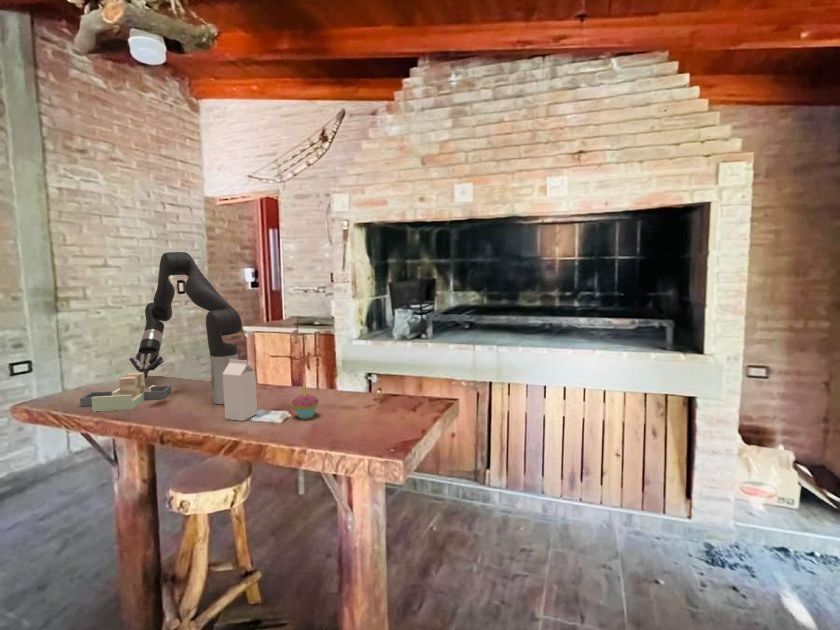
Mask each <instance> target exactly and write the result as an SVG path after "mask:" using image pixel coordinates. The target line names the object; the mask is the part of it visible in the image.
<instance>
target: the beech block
mask: <svg viewBox="0 0 840 630" xmlns="http://www.w3.org/2000/svg"><path fill="white" fill-rule="evenodd" d="M118 380H119V381H118V382H119V383H118V384H119V388H120V395H132V399H134V398H135V397H136V396H138V395H139V394H144V392H147V391H146V378H145V377H144V372H139V371H138V372H129V373H128V374H126V375H124V376H122V377H121V378H119V379H118Z"/></svg>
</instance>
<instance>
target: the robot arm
mask: <svg viewBox="0 0 840 630" xmlns="http://www.w3.org/2000/svg"><path fill="white" fill-rule="evenodd" d="M159 260H160V261H159V268H158V277H157V279H158V280H157V288H156V290H155V293H154V297H153V301H152V302H149V303H148V304H147V305H145V309H144V313H145V314H144V316H145V327H144V331H143V333H142V337H141V340H140V344H139V348H138V352H137V354H136V356H135V357H130V358H128V359H129V361H130V363H131V364H132V365H133V367H134V368H135V369H136V371H137V372H138V373H139V372H144V377H145V379H147V378H148V376H149V372H150V371H154V370H156V368H158V367H159V366H160V365H162V364H163V363H164V359H163V356H160V354H159V353H160V351H161V346H162V344H163V343H162V342H163V335H164V329H165V323H163V322H168V321H170V320H171V319H172V315H173V307H172V302H173V300H174V297H175V294H176V290H175V286H174V285H173V283H172V282H171V281H170V276H186V277H187V279H186V281H185V284H184V291H185V294H186V295H187V297H188V298H189V300H191V302H192V303H193V304H194V305H195V306H196V307H197V306H198V307H199V308H201V309H203V310H205V311H208V312H207V314H206V317H205V329H206V330H205V331H206V335H207V345H208V349H209V360H210V374H211V388H212V389H211V390H212V402H213V404H215V405H224V389H223V372H224V370H225V369H226V367H227V366H228V364H229V359H234V360H239V356H238V355H239V354H238V347H237V345H236V344H233V343H229V342H228V343H227V342H225V341H224V340H223V336H224V337H225V336H229V335H230V336H231V335H235V334H237V333H239V332H240V331H241V329H242V327H243V326H242V325H243V324H242V319H241V316H240V315H239V313H238V312H237V310H236V309H235V308H234V307H233V306H232V305H231V304H230V303H228V302H227V301H226V300H225V299H224V298H223V297H222V296H221V295H220V294H219V292H218V291H217V290H216V288H215V287H214V286H213V284H212V283H211V282H210V281H209V280H208V279H207V278H206V277H205V275H204V274H203V273H202V272H201V270H200V269H199V267H198V266H197V264H196V262H195V260H194V259H193V257H192V256H191V254H189V253H188V252H187V251H170V252H164V253H163V254H162V256H161V257H160V259H159ZM138 362H139V365H138Z"/></svg>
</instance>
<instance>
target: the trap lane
mask: <svg viewBox="0 0 840 630" xmlns="http://www.w3.org/2000/svg"><path fill="white" fill-rule="evenodd" d="M147 389H148V391H146V392H144V394H139V395H138V396H136V397H135V398H134V399H132V395H120V387H118V388H117V389H115V390H113V391H93V392H89V393H88V394H86V395H84V396H82V397H80V398H79V402H80V407H81V408H83V407H85V406H87V407H91V408H92V413H93V412H94V413H96V411H100V412H114V411H115V410H117V411H129V410H133V409H135V408H136V407H138V406H139V405H140V404H141V403H143V402H144V401H154V400H155V401H156V400H165V399H166V397H167V396H168V395H169V396H170V395H172V385H158V386H156V385H154V384H153V385H152V384H151V386H149V387H147ZM169 396H168V397H169ZM168 397H167V398H168ZM85 408H86V407H85Z"/></svg>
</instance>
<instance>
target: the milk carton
mask: <svg viewBox="0 0 840 630" xmlns="http://www.w3.org/2000/svg"><path fill="white" fill-rule="evenodd" d="M256 381H257V379H256V370H255V369H254V368H253V367H252V366H251V365H250V364H249V363H248V360H245V359H244V360H243V359H238V360H234V359H229V364H228V366H227V367H226V369H225V370H224V372H223V389H224V404H223V405H224V418H225V420H232V421H240V422H243V421H244V422H245V421H246V420H248V419H251V418H253V417H255V416H256V415H255V414H257V415H258V401H257V382H256ZM254 415H255V416H254ZM252 416H253V417H252ZM250 417H251V418H250Z"/></svg>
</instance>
